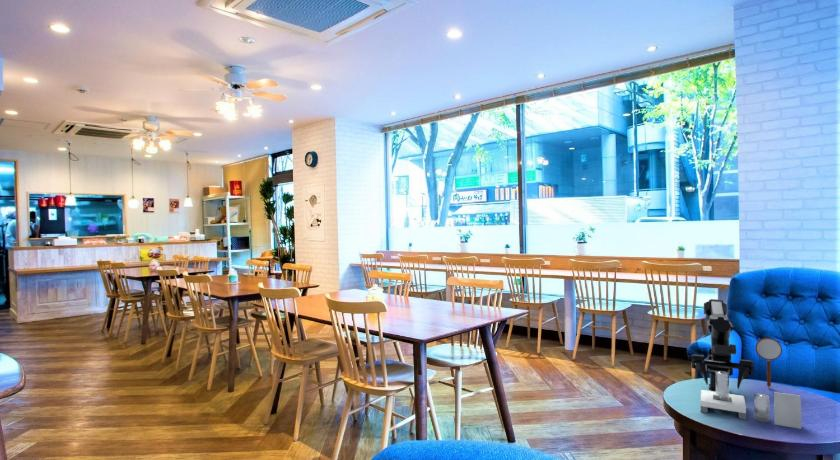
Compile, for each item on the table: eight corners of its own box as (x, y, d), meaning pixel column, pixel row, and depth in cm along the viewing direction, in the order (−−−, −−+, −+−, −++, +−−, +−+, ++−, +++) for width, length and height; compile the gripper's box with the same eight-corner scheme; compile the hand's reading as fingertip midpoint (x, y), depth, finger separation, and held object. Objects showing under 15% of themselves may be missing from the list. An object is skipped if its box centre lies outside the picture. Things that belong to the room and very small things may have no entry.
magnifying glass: (756, 387, 188) (755, 337, 188) (755, 386, 190) (754, 336, 190) (783, 390, 184) (782, 339, 184) (781, 389, 186) (781, 338, 186)
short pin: (754, 416, 160) (753, 392, 160) (768, 418, 158) (768, 394, 158) (755, 420, 157) (754, 396, 157) (770, 422, 155) (769, 398, 155)
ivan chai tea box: (801, 429, 150) (801, 397, 150) (774, 424, 153) (774, 393, 153) (800, 425, 153) (799, 394, 153) (774, 420, 157) (773, 390, 156)
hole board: (701, 400, 176) (701, 389, 176) (743, 406, 169) (743, 395, 169) (700, 411, 164) (700, 400, 164) (746, 419, 158) (745, 407, 158)
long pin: (720, 406, 169) (720, 370, 169) (731, 410, 166) (731, 373, 166) (713, 408, 168) (712, 371, 168) (724, 412, 164) (724, 374, 164)
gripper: (691, 332, 175) (691, 370, 165) (752, 337, 165) (756, 378, 156) (691, 349, 181) (691, 386, 172) (750, 355, 172) (754, 394, 163)
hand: (722, 386), depth 165 cm, fingers open, 9 cm apart
